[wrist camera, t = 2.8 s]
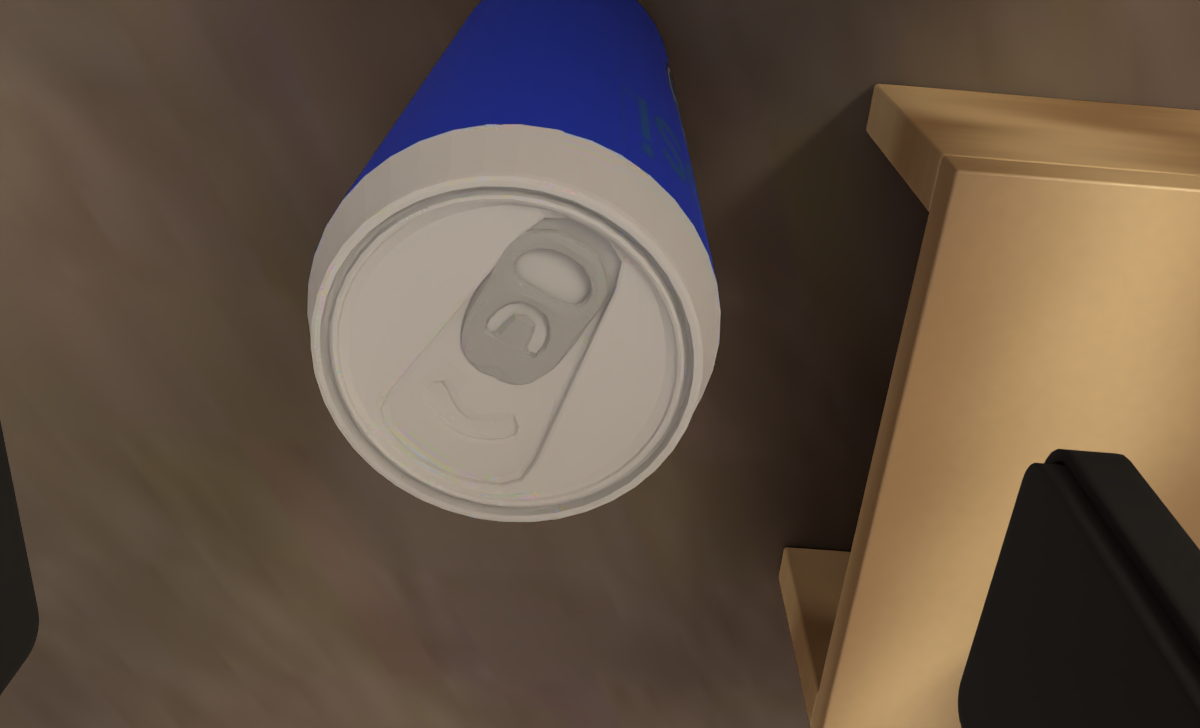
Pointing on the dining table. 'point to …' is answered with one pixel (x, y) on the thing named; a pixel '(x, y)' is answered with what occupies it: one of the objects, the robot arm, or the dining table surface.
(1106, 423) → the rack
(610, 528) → the dining table surface
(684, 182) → the beverage can
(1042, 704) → the robot arm
